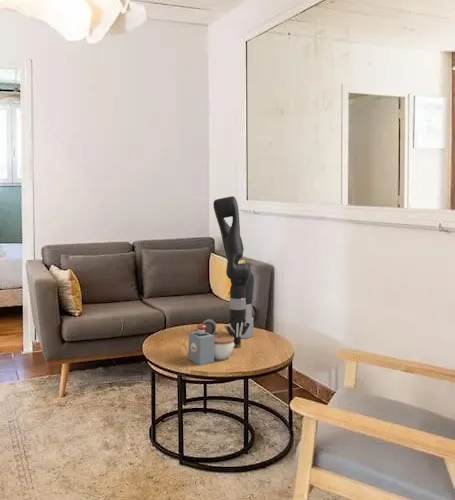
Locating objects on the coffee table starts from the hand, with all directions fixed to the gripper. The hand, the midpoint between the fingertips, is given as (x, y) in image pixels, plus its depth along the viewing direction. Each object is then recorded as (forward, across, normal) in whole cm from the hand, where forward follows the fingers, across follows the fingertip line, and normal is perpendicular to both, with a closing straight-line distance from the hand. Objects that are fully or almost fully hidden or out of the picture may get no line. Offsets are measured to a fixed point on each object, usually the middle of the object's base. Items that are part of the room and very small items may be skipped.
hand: (237, 344), depth 270 cm
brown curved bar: (+4, +5, -9) cm, 11 cm away
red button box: (+4, +19, 0) cm, 20 cm away
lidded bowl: (+5, +9, 0) cm, 10 cm away
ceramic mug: (+5, -6, -36) cm, 37 cm away
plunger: (-6, +19, 0) cm, 20 cm away
